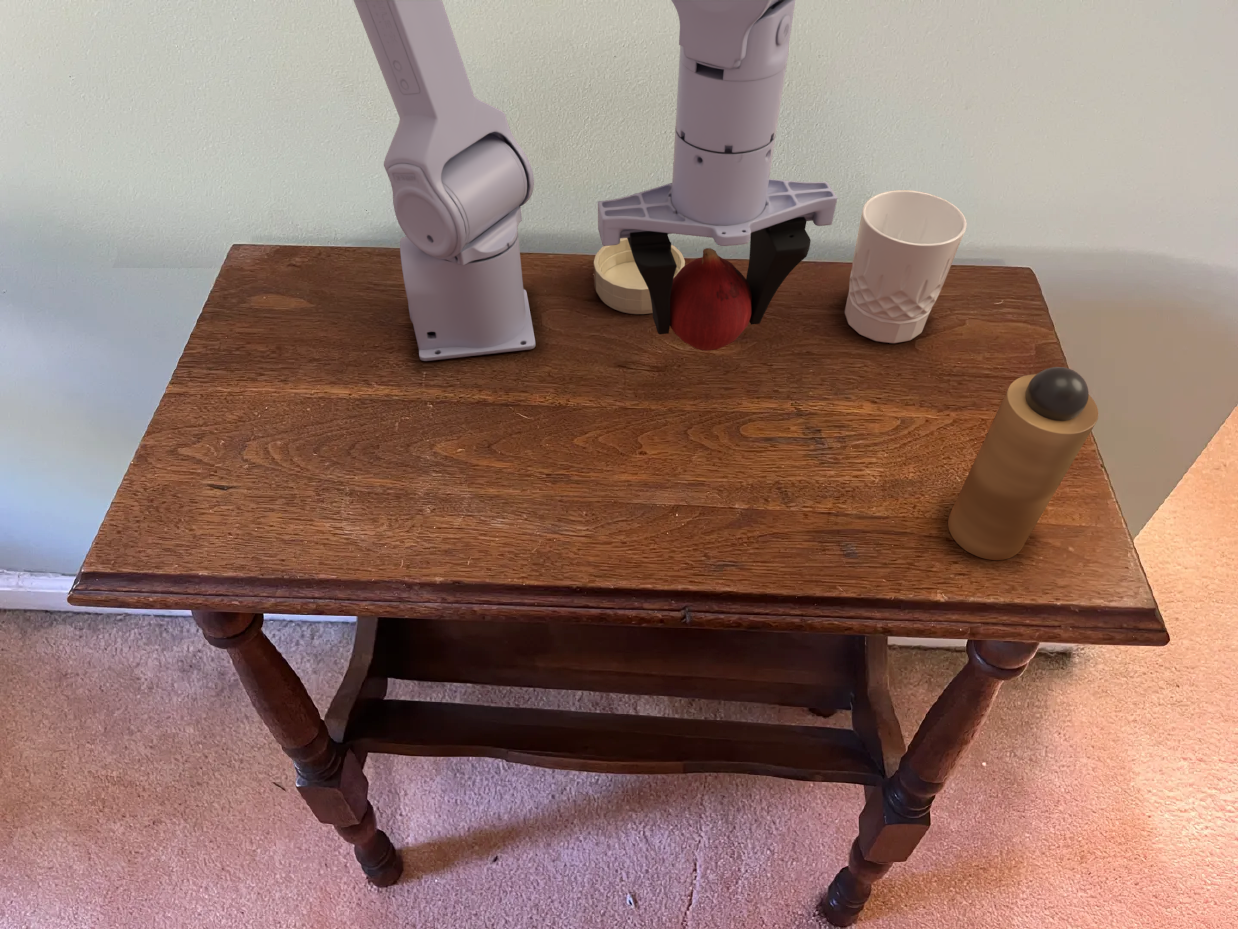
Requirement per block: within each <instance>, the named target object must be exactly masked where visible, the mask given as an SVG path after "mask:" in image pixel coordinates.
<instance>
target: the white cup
mask: <svg viewBox="0 0 1238 929" xmlns="http://www.w3.org/2000/svg"><path fill="white" fill-rule="evenodd" d="M967 226H968V224H967V218H966V217H965V215H964V213H963V212H962V211H961V210H960V209H959V207H957V206H956V205H955V204H953V203H952V202H950V201H949V200H946V199H945V198H942V197H940V196H937V195H934V194H931V193H928V192H923V191H919V190H910V189H909V190H907V189H906V190H904V189H898V190H896V189H895V190H888V191H883V192H880V193H878V194H875V195H873V196H871V197H870V198H868V199H867V200H866V202H865V203H864V204H863V207H862V209H861V214H860V221H859V226H858V230H857V236H856V241H855V246H854V251H853V256H852V263H851V271H850V275H849V283H848V284H849V285H848V294H847V298H846V304H845V307H844V316H845V318H846V322H847V324H848V326H850V328H852V329H853V330H854V331H855V332H856V333H857V334H859V335H861V336H862V337H865V338H867V339H870V340H872V341H874V342H880V343H887V344H888V343H889V344H898V343H905V342H909V341H911V340H913V339H915V338H916V337H918V336H919V335H920V334H922V333H923V330H924V328H925V326H926V323H927V320H928V318H929V315H930V313H931V311H932V309H933V307H934V305H935V304H936V302H937V299H938V298H939V296H940V294H941V291H942V289H943V287H944V284H945V282H946V279H947V277H948V274H949V272H950V270H951V267H952V265H953V262H954V260H955V258H956V254H957V252H958V249H959V247H960V245H961V241H962V240H963V238H964V235H965V233H966V231H967Z"/></svg>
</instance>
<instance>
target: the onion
mask: <svg viewBox="0 0 1238 929" xmlns="http://www.w3.org/2000/svg"><path fill="white" fill-rule="evenodd" d="M751 301H752V294H751V290H750V286H749V284H748V282H747V280H746V277H745V276H744V275H743V274H742V272H741V271H740V270H739V269H738V268H736V266H735V265H734V264H733V263H732V262H730V261H728V260H727V259H724V258H723V257H721V256H720V255H718V253H717V251H716V250H715V249H713V248H711V247H709V248H708V247H707V248H706V247H705V248H703V250H702V257H697V258H694V260H692V261H690V262H689V263H687V264H685V266H684V267H683V268H682V269H681V270H680V271H679V272H678V273H677V275H676V276H675V277H674V279H673V284H672V290H671V297H670V329H671V330H672V332H673V333H674V335H676V336H677V337H678V338H679V339H680V340H681V341H682V342H683V343H685V344H687V345H689V346H691V347H693V348H694V349H696V350H700V351H703V352H704V351H705V352H706V351H707V352H709V351H716V350H719V349H722V348H723V347H726V346H728V345H730V344H733V342H735V341H736V340H737V339H738V338H739V336H740V335H742V333H743V332H744V331H745V330H746V329H747V328H748V326H749V323H750V317H751Z"/></svg>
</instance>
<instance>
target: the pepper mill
mask: <svg viewBox="0 0 1238 929" xmlns="http://www.w3.org/2000/svg"><path fill="white" fill-rule="evenodd" d="M1089 392H1090V391H1089V387H1088V385H1087V382H1086V380H1085V378H1084V377H1083V376H1082V375H1081V374H1080V373H1078V372H1077V371H1075V370H1074V369H1072V368H1068V367H1064V366H1053V367H1048V368H1045V369H1043V370H1041V371H1039V372H1038V373H1033V374H1027V375H1023V376H1021V377H1018V378H1016V379H1015V380H1013V381H1012V382H1011V383H1010V384H1009V386H1008V388H1007V390H1006V392H1005V394H1004V397H1003V398H1002V401H1001V403H1000V405H999V407H998V409H997V412H996V414H995V415H994V417H993V420H992V422H991V424H990V427H989V429H988V431H987V433H986V435H985V438H984V439H983V442H982V444H981V446H980V448H979V451H978V453H977V455H976V456H975V459H974V461H973V463H972V464H971V465H972V466H971V467H970V470H969V471H968V474H967V476H966V479H965V481H964V483H963V485H962V487H961V489H960V492H959V494H958V496H957V497H956V500H955V502H954V505H953V506H952V509H951V511H950V513H949V515H948V518H947V527H948V528H947V529H948V530H949V531H948V532H949V533H950V535H951V537H952V539H953V540H954V541H955V543H956V544H957V545H958V546H959V547H961V549H963V551H964V550H965V551H966V552H967V553H969V554H970V555H973V556H976V557H978V558H981V559H984V560H990V561H1003V560H1004V561H1005V560H1007V559H1010V558H1012V557H1015V556H1016V555H1017V554H1019V553H1020V552H1021V550H1022V549H1023V547H1024V545H1025V544H1026V542H1027V540H1028V538H1030V535H1031V534H1032V532H1033V530H1034V529H1035V527H1036V525H1037V523H1038V522H1039V520H1040V519H1041V517H1042V515H1043V513H1044V512H1045V510H1046V508H1047V507H1048V505H1049V503H1050V502H1051V500H1052V499H1053V497H1054V495H1055V494H1056V491H1057V490H1058V488H1059V487H1060V485H1061V483H1062V481H1063V479H1064V478H1065V476H1066V474H1067V473H1068V471H1069V469H1070V468H1071V466H1072V464H1073V463H1074V462H1075V459H1076V458H1077V456H1078V454H1079V453H1080V451H1081V449H1082V448H1083V445H1085V442H1086V441H1087V439H1088V437H1089V436H1090V434H1091V432H1092V431H1093V429H1094V427H1095V425H1096V424H1097V422H1098V420H1099V409H1098V405H1097V403H1096V402H1095V400H1094V399H1093V397H1092V396H1091V395H1090V394H1089Z"/></svg>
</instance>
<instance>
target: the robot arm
mask: <svg viewBox="0 0 1238 929" xmlns="http://www.w3.org/2000/svg"><path fill="white" fill-rule="evenodd" d="M671 2H672V4H673V6H674V8H675V10H676V12H677V16H678V21H679V36H678V38H679V39H678V45H679V60H678V77H677V94H676V114H675V126H674V127H675V128H674V145H673V160H672V161H673V163H672V177H671V178H672V179H671V180H672V181H671V182H670V183H667V184H663V185H660V186H657V187H653V188H650V189H646V190H644V191H643V190H642V191H640V192H637V193H633V194H630V195H626V196H623V197H618V198H613V199H605V200H598V201H597V230H598V234H599V237H600V242H601V245H602V247H603V246H610V245H618V244H619V243H620V239H622V238H627V239H628V242H629V245H630V248H631V251H632V254H633V258H634V261H635V263H636V265H637V267H638V270H639V272H640V274H641V275H642V277H643V279H644V281H645V283H646V285H647V287H648V289H649V293H650V297H651V303H652V312H653V313H652V319H653V322H654V325H655V328H656V332H657V334H659V335H668V334H670V329H671V327H670V297H671V290H672V284H673V279H674V274H675V271H676V267H677V265H676V263H675V260H674V257H673V255H672V252H671V245H672V242H671V241H670V238H669V235H671V234H673V235H682V236H683V235H684V236H693V237H701V238H709V239H710V238H711V239H713V241H714V243H715V244H716V245H718V246H720V247H730V246H731V247H732V246H742V245H746V244H748V243H749V256H748V258H749V259H748V267H747V272H746V277H745V278H746V280H747V282H748V284H749V286H750V290H751V294H752V301H751V317H750V321H749V323H750V325H752V326H753V325H760V324H761V322H762V320H763V318H764V315H765V314H766V312H767V309H768V307H769V306H770V303H771V301H772V300H773V298H774V296H775V294H776V293H777V291H778V289H779V288H780V286H781V285H782V284H783V283H784V281H785V280H786V278H787V277H788V276H789V275H790V274H791V272H792V271H793V270H794V269H795V268H796V267H797V266H798V265H799V264H800V263H801V262H802V261H804V259H806V258H807V257H808V254H809V252H810V247H811V241H812V240H811V238H810V235H809V234H808V232H807V230H806V227H807V222H812V223H813V225H815V226H817V227H824V226H825V227H826V226H832V225H833V221H834V216H835V211H836V208H837V202H838V198H839V197H838V196H837V195H836V193H835V191H834V190H833V188H832V186H831V185H830V183H829V182H828V181H826V180H825V181H797V180H785V179H775V178H771V177H770V176H771V169H772V163H773V157H774V150H775V144H776V137H777V130H778V124H779V117H780V112H781V103H782V97H783V91H784V86H785V85H784V84H785V77H786V70H787V65H788V59H789V51H790V38H791V33H792V32H791V31H792V25H793V19H794V13H795V6H796V0H671ZM353 3H354V6H355V8H356V11H357V13H358V16H359V18H360V20H361V23H362V26H363V28H364V31H365V34H366V35H367V36H366V37H367V38H368V41H369V44H370V47H371V49H372V52H373V53H374V56H375V59H376V62H377V64H378V67H379V69H380V71H381V74H382V76H383V79H384V82H385V84H386V86H387V90H388V91H389V95H390V98H392V102H393V104H394V107H395V109H396V112H397V115H398V117H399V121H398V125H397V128H396V130H395V133H394V135H393V137H392V140H391V142H390V144H389V148H388V150H387V152H386V155H385V157H384V161H383V168H384V170H385V172H386V175H387V177H388V180H389V182H390V185H391V186H390V187H391V191H392V204H393V210H394V214H395V217H396V220H397V222H398V225H399V227H400V229H401V231H402V233H404V235H405V236H403V237H401V238H399V252H400V253H399V254H400V263H401V269H402V271H401V272H402V276H403V283H404V290H405V294H406V299H407V303H408V304H407V305H408V306H407V307H408V313H409V319H410V322H411V323H412V325H413V329H414V330H413V331H414V334H415V338H416V343H417V347H418V348H417V349H418V356H419V359H420V361H423V362H431V361H438V360H440V361H441V360H449V359H457V358H466V357H473V356H484V355H493V354H501V353H509V352H510V353H511V352H519V351H529V350H532V349H535V347H536V344H537V343H536V338H535V333H534V332H535V331H534V326H533V320H532V315H531V311H530V304H529V297H528V293H527V290H526V289H525V288H524V281H523V280H524V279H523V270H522V260H521V252H520V251H521V250H520V239H519V228H518V227H519V225H520V223H521V222H522V221H523V218H522V206H524V205H526V203H528V201H529V200H531V197H532V196H533V192H534V188H535V177H534V171H533V168H532V164H531V162H530V160H529V157H528V156H527V154H526V153H525V151H524V149H523V148H522V147H521V145H520V144H519V143H518V142H517V141H518V140H516V138H515V137H514V135H513V133H512V130H511V128H510V126H509V122H508V119H507V116H506V113H505V112H504V111H503V110H501V109H500V108H498V107H495V106H493V105H491V104H489V103H487V102H485V101H483V100H481V99H479V98H478V97H476V96H475V95H474V92H473V88H472V85H471V83H470V82H471V81H470V80H469V77H468V73H467V70H466V68H465V65H464V62H463V59H462V56H461V53H460V50H459V47H458V44H457V41H456V37H455V35H454V31H453V29H452V26H451V23H450V20H449V17H448V14H447V11H446V8H445V5H444V2H443V0H353Z"/></svg>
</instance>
